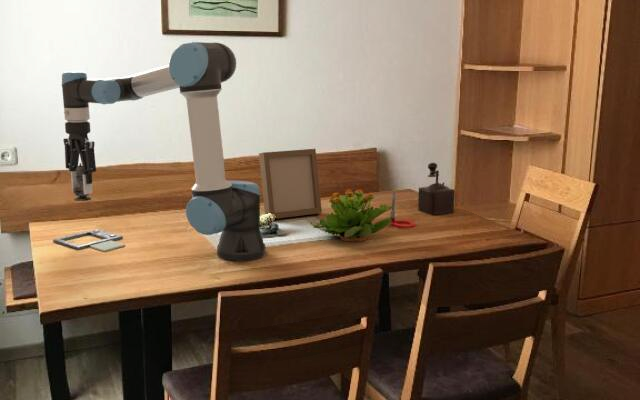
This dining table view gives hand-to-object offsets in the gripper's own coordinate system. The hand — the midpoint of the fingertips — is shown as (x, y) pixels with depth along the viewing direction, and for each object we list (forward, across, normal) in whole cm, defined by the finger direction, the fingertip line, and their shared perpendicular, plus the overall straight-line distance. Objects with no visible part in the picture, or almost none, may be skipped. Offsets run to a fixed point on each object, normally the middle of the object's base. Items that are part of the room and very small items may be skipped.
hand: (82, 192), depth 227 cm
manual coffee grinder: (+17, +66, +114) cm, 132 cm away
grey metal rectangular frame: (+17, -1, +1) cm, 17 cm away
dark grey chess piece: (+3, 0, 0) cm, 3 cm away
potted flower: (+17, +66, +61) cm, 91 cm away
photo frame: (+17, +27, +71) cm, 78 cm away
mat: (+17, +11, +1) cm, 20 cm away
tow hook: (+17, +69, +86) cm, 111 cm away
